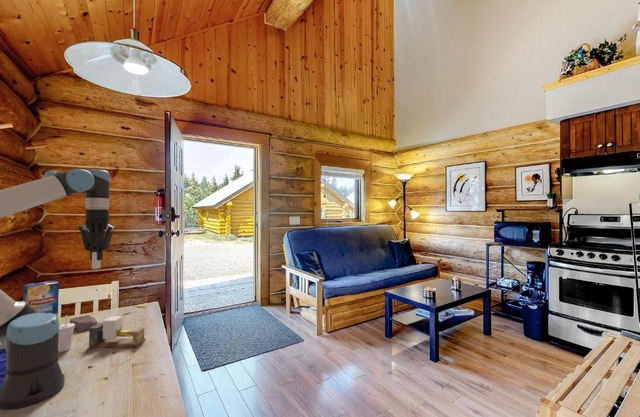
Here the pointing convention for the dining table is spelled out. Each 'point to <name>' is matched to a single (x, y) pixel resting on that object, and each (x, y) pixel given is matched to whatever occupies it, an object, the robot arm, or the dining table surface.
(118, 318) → the sleeve
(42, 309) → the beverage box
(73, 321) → the stone
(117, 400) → the dining table surface
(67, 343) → the smoothie
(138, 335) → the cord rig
